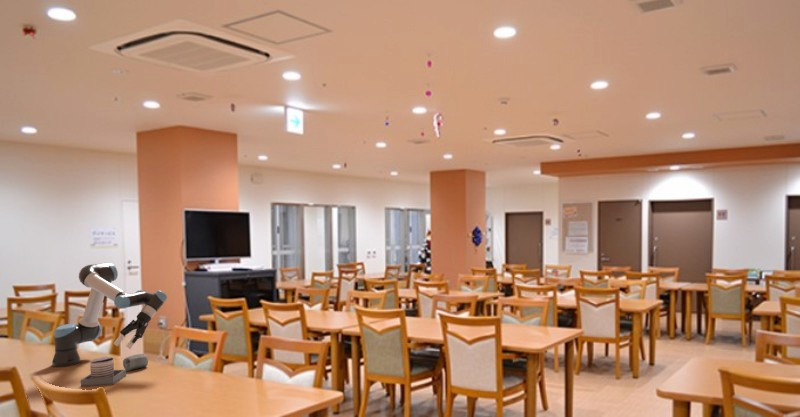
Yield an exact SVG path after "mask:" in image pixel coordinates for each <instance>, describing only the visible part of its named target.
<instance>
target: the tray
mask: <svg viewBox="0 0 800 417" xmlns="http://www.w3.org/2000/svg"><path fill="white" fill-rule="evenodd" d="M126 376H127V371H126V370H125V369H114V377H112V378H96V379H91V373H89V374H88V375H86V376H85V377H83V378H80V387H91V386H110V385H109V384H113V385H115V384H116V383H117V381H118V382H120V381H121V380H122V379H123V377H124V378H125V377H126ZM120 379H121V380H120Z"/></svg>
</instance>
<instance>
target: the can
mask: <svg viewBox="0 0 800 417" xmlns="http://www.w3.org/2000/svg"><path fill="white" fill-rule="evenodd" d="M89 363H90V364H89V366H90V374H91V379H96V378H112V377H114V370H115V369H114V365H115V364H114V356H111V355H110V356H105V357H104V356H103V357H98V358H94V359H91V360H90V361H89Z"/></svg>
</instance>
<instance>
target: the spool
mask: <svg viewBox="0 0 800 417" xmlns="http://www.w3.org/2000/svg"><path fill="white" fill-rule="evenodd" d="M148 364H149V359H148V356H147V355H146V354H145V353H138V354H133V355H130V356H127V357H125V358H123V361H122V365H123V368H124V369H123V370H126V372H130V371H133V370H137V369H142V368H146V367H147V366H148Z"/></svg>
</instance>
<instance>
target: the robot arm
mask: <svg viewBox="0 0 800 417" xmlns="http://www.w3.org/2000/svg"><path fill="white" fill-rule="evenodd" d="M118 273H119V272H118V269H117V266H116V265H114V263H110V262H104V263H93V264H87V265H85V266H84V267H82V268H81V269H80V270H79V273H78V279H79V282H80V283H81V284H82V285H83V286H84V287H85V288H86V287H87V288H88V289H89V288H90V291H89V294H88V298H87V302H86V306H85V308H84V312H83V315H82V317H81V318H79V321H78V324H75V323H67V324H63V325H60V326H58V327H56V328H55V329H54V333H53V334H54V335H53V337H54V355H53V359H52V362H51V366H52V367H54V368H55V367H57V368H58V367H60V368H62V367H69V366H73V365H77V364H80V363H81V357H80V356H81V355H80V353H79V352H78V346H77V345H79V344H82V343H87V342H92V341H95V340H98V338H99V337H100V336H101V334H102V325H101V323H100V321H99V317H100V316H99V315H100V313H101V309H102V306H103V302H104V299H105V297H106V298H108V299H109V300H111V301H112V302H113V303H114V304H113V305H114V306H115V307H116V309H119V310H120V309H126V308H132V307H137V306H142V305H144V306H143V308H142V309H141V311H139V313H138V314H137V315H136V320H135V319H132V320H131V322H129V323H128V324H127V325H126V326H124V327H123V328H122V329H121V330H120V331H119V333H120V334H119V336H117V338H116V340H115V341H114V342H113V345H115V346H116V347H118V346H119V345H120V344H121V343H122V341H123V340H124V339H125V337H126V335H128V334H130V333H131V332H132V331H135V334H134V335H133V337H132V338H131V339H130V340H129V342H128V343H126V348H128V349H129V350H131V349H132V348H133V346H134V345H135V344H136V343H137V341H138V340H140V339H142V338H143V336H144V334H145V331H146V329H147V327H148V325H149V323H150V321H151V320H152V319H153V317H154V316H156V313H157V312H158V311H159V310H160V309H161V307H162V306H163V305H164V304H165V302H166V301H167V299H168V295H167V294H166V293H165V292H164V291H162V290H158V289H157V290H156V291H155V292H154V293H153V292H150V291H147V290H143V289H140V290H136V292H134V293H133V292H132V293H128V292H126V291H124V290H122V289H121V288H119V287H117V286H116V285H114V284H112V282H114V281H116V280H117V278H118Z"/></svg>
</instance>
